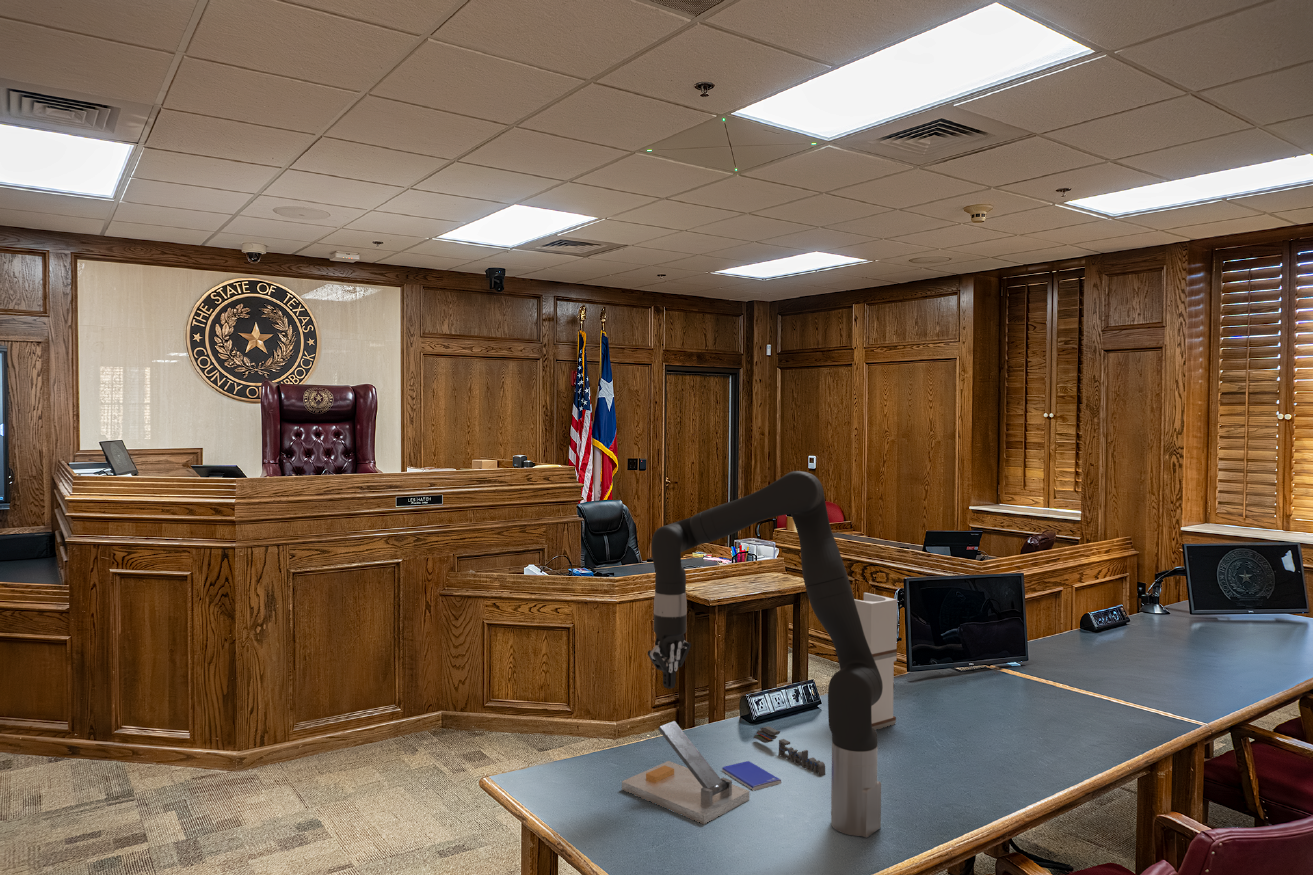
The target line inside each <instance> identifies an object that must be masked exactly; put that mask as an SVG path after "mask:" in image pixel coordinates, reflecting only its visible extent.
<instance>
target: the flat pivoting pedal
mask: <svg viewBox="0 0 1313 875" xmlns="http://www.w3.org/2000/svg"><path fill="white" fill-rule="evenodd" d="M657 730H658V731H659V733H661V735H662V736H663V737H664V739H665V740H666V741H667V743H668V745H670V747H671V748H672V749H673V751H674V752H675V753H676V754H677V755H678V757H679V758H680V760H681V761H682V763H684V765H685V767H687V768H688V769H689V770H690V771H691V773H692V774H693V775H694V776H695V778H696V779H697V780H698V782H699V783H700V784H701V785H702V787H705V788H708V789H710V790H713V796H714V795H716V794H718V793H720V792H722V791H724V790H726V789H727V785H726V783H725V782H724V781H722V780H721V778H720V776H719V775H718V774H717V773H716V771H715V770H714V768H712V766H711V765H710V763H709V762H708V761H707V760H706V759H705V757H704V756H703V754H702V753H700V751H699V750H698V748H697V747H696V746H695V745H694V743H693V742H692V741H691V739H690V738H689V737H688V736H687V735H686V733H685V732H684V731H683V730H682V728H681V727H680V726H679V725H678V723H677V722H676V721H675V720H673V721H671V722H668V723H666V724H662V725H660V726H658V728H657Z"/></svg>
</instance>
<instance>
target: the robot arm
mask: <svg viewBox="0 0 1313 875" xmlns="http://www.w3.org/2000/svg"><path fill="white" fill-rule="evenodd" d="M785 515H790V516H791V518H792V520H793V524H794V526H795V529H796V532H797V535H798V540H799V548H800V560H801V570H802V572H801V573H802V578H803V582H804V586H805V590H806V594H807V597H808V600H809V604H810V606H811V608H812V610H813V613H814V615H815V616H816V618H817V619H818V621H819V622H820V624H821V626H822V627H823V629H824V631H826V632H827V634H828V636H829V637H830V639H831V641H832V643H833V646H834V649H835V652H836V655H837V660H838V665H840V670H838V671H837V672H835V673H834V674H833V675H832V676H831V678H830V680H829V684H828V689H827V708H828V709H827V711H828V712H827V713H828V714H827V715H828V716H827V717H828V727H829V731H830V733H831V780H830V781H831V783H830V784H831V787H830V788H831V793H830V794H831V797H830V799H831V800H830V801H831V803H830V805H831V806H830V807H831V808H830V815H831V816H830V817H831V818H830V824H831V826H832V827H833V829H835V830H836V831H838V832H840V833H843V834H844V835H848V836H856V837H857V836H858V837H863V838H869V837H870V836H871V835H872V834H874V833H875V832H877V831H878V830H880V829H881V826H882V823H881V821H882V816H881V815H882V783H881V781H879V780H878V746H879V744H878V740H879V739H878V735H879V734H878V732H877V730H875V729H874V728H872V715H871V706H872V705H874V704H875V703H876V702H877V701H878V700H879V699H880V697H881V695H882V690H883V684H882V679H881V676H880V673H879V670H878V668H877V665H876V663H875V661H874V658H873V656H872V653H871V651H870V648H869V646H868V643H867V641H866V638H865V635H864V632H863V628H862V624H861V621H860V617H859V614H858V611H857V607H856V604H855V600H854V599H855V597H854V593H853V590H852V586H851V583H850V579H849V575H848V573H847V570H846V566H845V564H844V561H843V558H842V556H841V553H840V549H839V547H838V544H837V542H836V540H835V537H834V534H833V531H832V528H831V524H830V520H829V514H828V509H827V504H826V498H825V492H824V488H823V484H822V483H821V481H820V480H819V478H818V477H817V476H815V475H814V474H812V473H809V472H807V471H801V470H792V471H790V472H788V473H786V474H785V475H783V476H782V477H780V478H779V479H776V480H775V481H774V482H772V483H770V484H769V485H766V486H765V487H763V488H761V489H759V490H757V491H755V492H752V493H750V494H748V495H746V496H742V497H740V498H737V499H734V500H732V501H728V502H724V503H722V504H719V505H717V506H714V507H711V508H708V509H706V510H703V511H701V512H698V513H696V514H694V515H693V516H691V517H688V518H685V519H682V520H678V521H675V522H672V523H669V524H667V525H663V526H660V527H658V528H657V529H656V530H655V531H654V533H653V535H652V538H651V555H652V561H653V567H654V572H655V576H654V578H655V579H654V580H655V582H654V583H655V584H654V590H655V591H654V598H653V632H654V633H655V636H656V638H655V640H654V647H653V648H652V650H647V656H648V657H649V659H650V660H651V662H652V664H653V666H654V667H655V668H656V670H658V671H662V685H663V687H664V688H665V689H668V690H671V689H673V688H675V687H676V679H677V674H676V673H677V671H678V668H682V667H683V665H684V662H685V660H686V658H687V657H688V654H689V651H690V649H691V647H692V643H691V642H688V641H686V640H685V634H686V633H687V619H688V618H687V617H688V616H687V613H688V612H687V610H688V608H687V606H688V603H687V602H688V600H687V592H686V590H687V589H686V588H687V575H686V570H685V568H684V567H682V555H681V554H682V553H683V552H685V551H688V550H690V549H693V548H695V547H697V546H700V545H702V544H709V543H713V542H714V541H718V540H720V539H723V538H726V537H729V536H731V535H733V534H735V533H738V532H740V531H742V530H743V529H746V528H748V527H750V526H751V525H755V524H757V523H759V522H763V521H765V520H768V519H771V518H775V517H780V516H785Z"/></svg>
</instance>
